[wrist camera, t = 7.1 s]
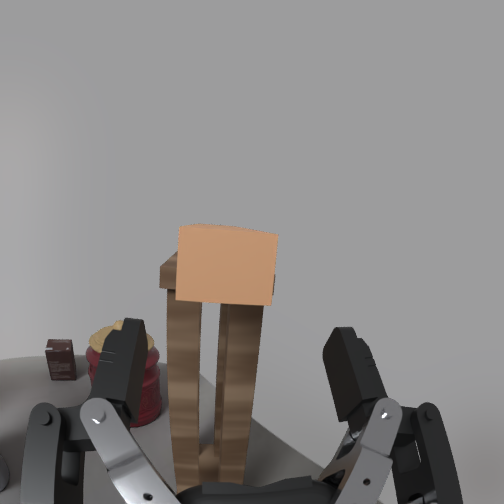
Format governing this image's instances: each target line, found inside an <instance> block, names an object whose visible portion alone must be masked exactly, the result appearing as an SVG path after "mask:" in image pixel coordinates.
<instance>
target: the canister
mask: <svg viewBox="0 0 504 504" xmlns="http://www.w3.org/2000/svg"><path fill="white" fill-rule="evenodd" d="M122 325H123V321H121V320H119V321H116V322H115V323H114V325H113V326H108V327H104V328H102V329H100V330H99V331H98V332H96V333H95V334H93V335H92V336H91V337H90V339H89V344H90V346H89V347H88V349H87V351H86V358H87V360H88V362H89V363H90V366H89V368H88V374H89V377H90V380H91V386H92V385H93V381H94V377H95V373H96V369H97V365H98V361H99V358H100V354H101V352H102V347H103V343H104V340H105V338H106V337H107V335H108V334H109V333H110V332H111V331H112V329H115V330H121V329H122ZM146 335H147V340H148V355H147V361H146V367H145V373H144V380H143V387H142V394H141V401H140V408H139V417H138V424H137V423H130V427H138V426H143V425H146V424H148V423H150V422H152V421H153V420H155V419H156V418H157V417H158V415H159V414H160V411H161V406H162V399H161V395H160V383H159V376H160V369H159V367H158V365H157V362H158V360H159V352H158V350H157V349H156V348H155V347H154V340H153V338H152V337H151V336H150V335H148V334H147V333H146Z"/></svg>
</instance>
